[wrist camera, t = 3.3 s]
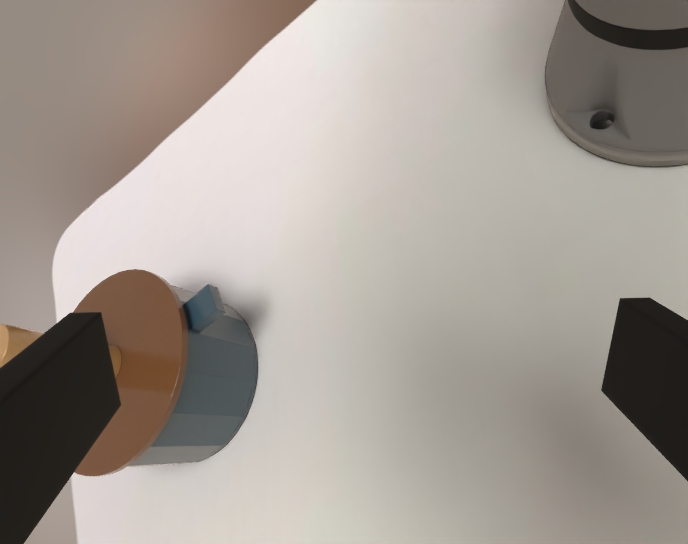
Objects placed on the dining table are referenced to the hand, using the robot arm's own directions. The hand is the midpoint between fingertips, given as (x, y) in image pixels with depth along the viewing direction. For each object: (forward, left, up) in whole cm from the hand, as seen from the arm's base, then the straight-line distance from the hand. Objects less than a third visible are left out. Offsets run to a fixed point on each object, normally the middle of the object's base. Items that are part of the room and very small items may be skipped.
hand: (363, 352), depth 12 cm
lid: (-2, -28, -13) cm, 31 cm away
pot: (-2, -28, -21) cm, 35 cm away
